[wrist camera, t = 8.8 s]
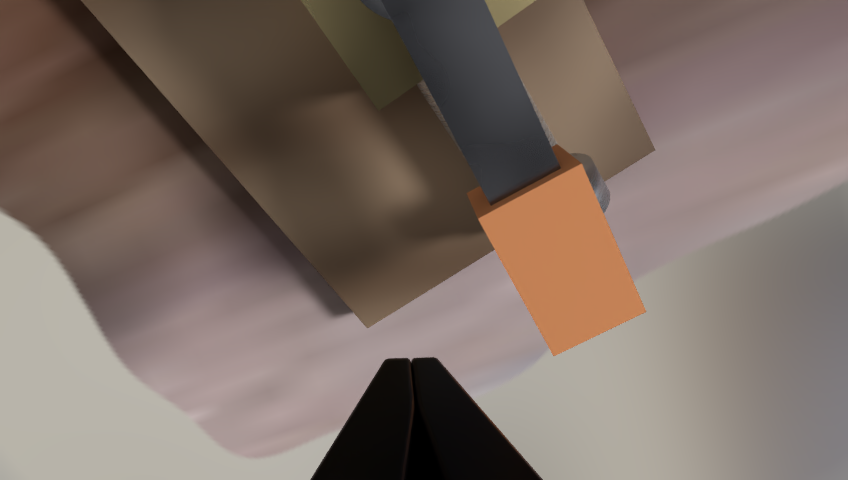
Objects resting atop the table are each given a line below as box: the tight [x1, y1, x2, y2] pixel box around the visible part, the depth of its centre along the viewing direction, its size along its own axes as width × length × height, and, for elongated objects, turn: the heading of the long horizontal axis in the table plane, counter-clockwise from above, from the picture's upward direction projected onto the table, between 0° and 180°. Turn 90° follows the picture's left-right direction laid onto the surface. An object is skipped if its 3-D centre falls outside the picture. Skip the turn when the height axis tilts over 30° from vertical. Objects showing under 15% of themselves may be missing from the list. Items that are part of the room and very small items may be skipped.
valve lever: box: [360, 0, 646, 356], centre depth 12 cm, size 11×3×2 cm, turn 29°
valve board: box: [81, 0, 655, 328], centre depth 16 cm, size 16×13×7 cm
